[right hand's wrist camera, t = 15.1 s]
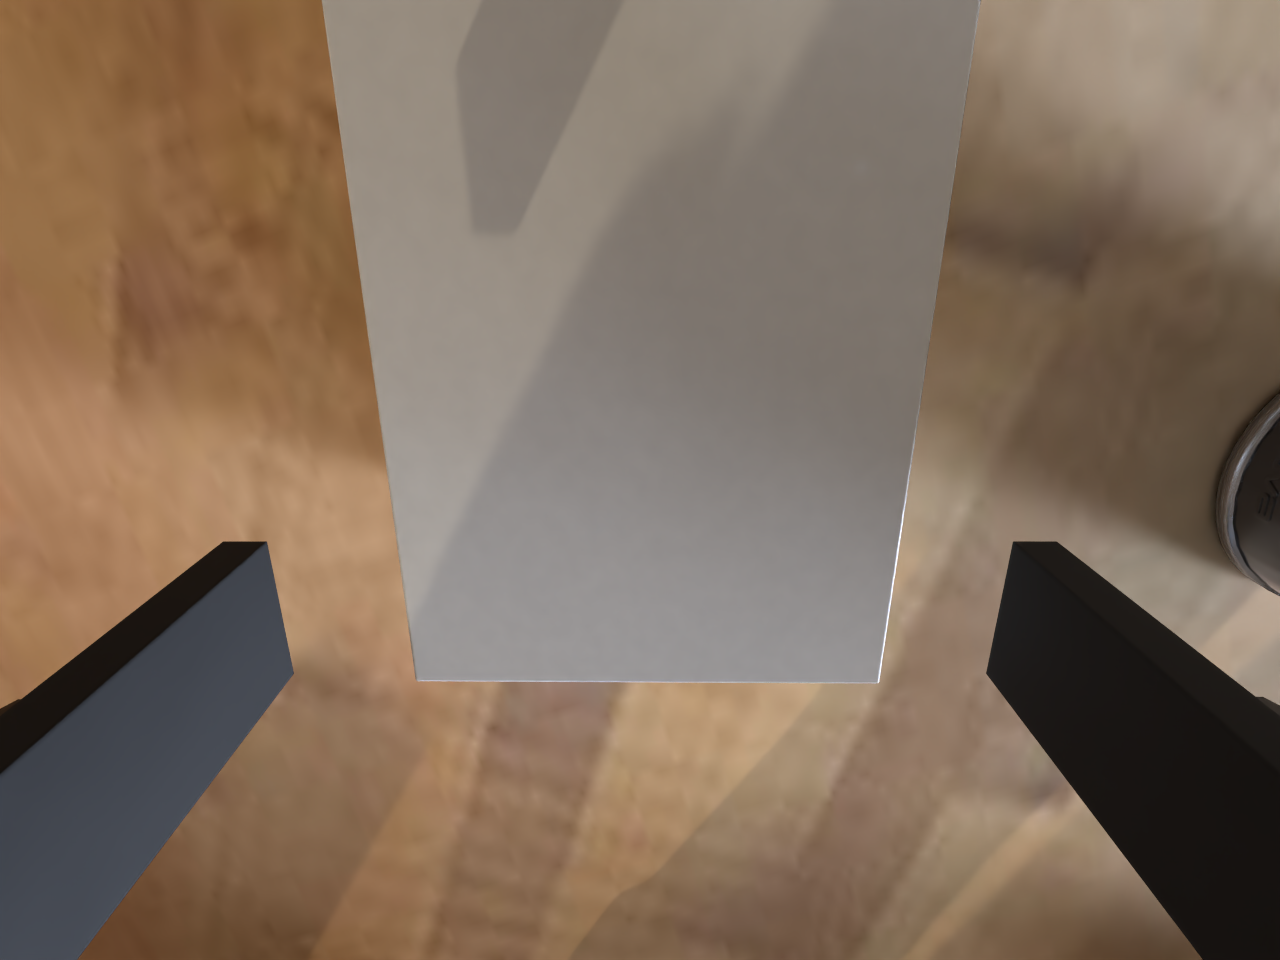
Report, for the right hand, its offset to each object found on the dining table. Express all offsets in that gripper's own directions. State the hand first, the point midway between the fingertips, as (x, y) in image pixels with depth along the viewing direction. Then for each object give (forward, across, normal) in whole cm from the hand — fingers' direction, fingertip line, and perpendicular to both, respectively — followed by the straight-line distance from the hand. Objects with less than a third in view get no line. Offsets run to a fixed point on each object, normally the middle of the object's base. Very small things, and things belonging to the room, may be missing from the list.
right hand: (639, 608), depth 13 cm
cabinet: (+12, 0, -6) cm, 13 cm away
